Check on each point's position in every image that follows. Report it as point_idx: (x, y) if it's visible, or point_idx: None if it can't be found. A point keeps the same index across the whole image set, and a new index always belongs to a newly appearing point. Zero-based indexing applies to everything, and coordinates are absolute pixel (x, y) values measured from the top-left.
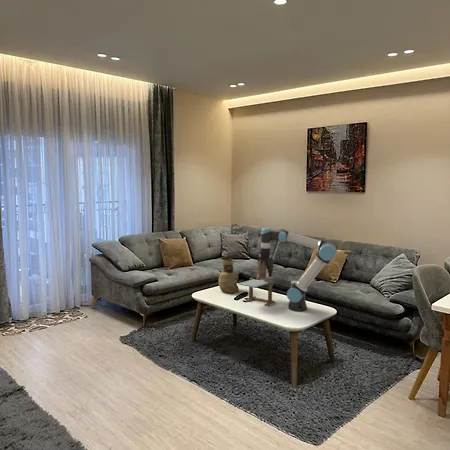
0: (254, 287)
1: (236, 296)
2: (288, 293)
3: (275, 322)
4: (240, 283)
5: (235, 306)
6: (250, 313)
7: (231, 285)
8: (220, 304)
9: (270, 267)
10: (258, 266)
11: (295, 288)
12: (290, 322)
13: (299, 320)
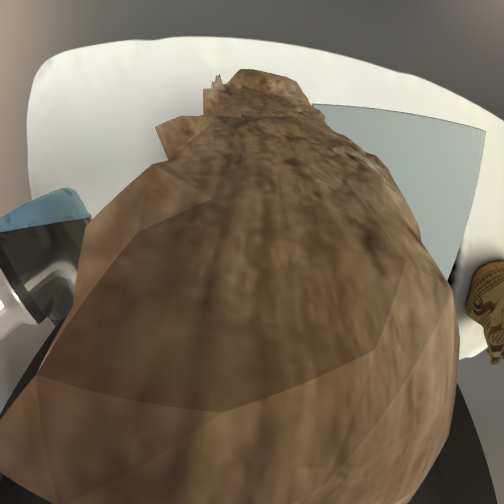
0: (320, 104)
1: (459, 250)
2: (45, 195)
3: (113, 45)
4: (474, 139)
5: (413, 113)
6: (287, 55)
7: (500, 290)
8: (476, 108)
9: (57, 332)
10: (329, 145)
11: (2, 234)
12: (69, 97)
13: (59, 146)
